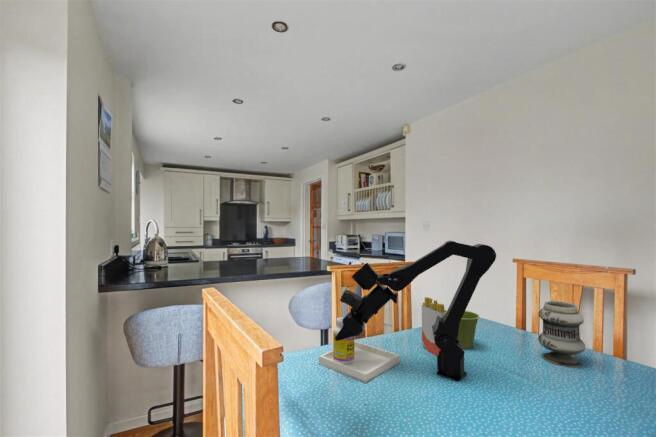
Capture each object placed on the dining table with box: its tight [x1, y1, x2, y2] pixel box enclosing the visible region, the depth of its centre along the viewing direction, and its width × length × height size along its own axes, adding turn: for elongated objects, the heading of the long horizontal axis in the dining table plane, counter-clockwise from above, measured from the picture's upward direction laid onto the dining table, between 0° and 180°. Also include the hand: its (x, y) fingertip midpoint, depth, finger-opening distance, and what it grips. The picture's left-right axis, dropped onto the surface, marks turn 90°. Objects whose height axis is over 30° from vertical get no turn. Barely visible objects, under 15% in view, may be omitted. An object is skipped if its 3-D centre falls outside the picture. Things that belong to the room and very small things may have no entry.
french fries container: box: [421, 296, 447, 357], centre depth 107 cm, size 5×11×18 cm, turn 17°
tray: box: [318, 340, 401, 384], centre depth 98 cm, size 18×18×2 cm
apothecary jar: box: [537, 300, 586, 368], centre depth 101 cm, size 12×12×18 cm
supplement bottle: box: [332, 316, 355, 364], centre depth 98 cm, size 7×7×13 cm
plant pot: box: [446, 310, 480, 350], centre depth 113 cm, size 12×12×11 cm
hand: (339, 334), depth 99 cm, fingers open, 9 cm apart
